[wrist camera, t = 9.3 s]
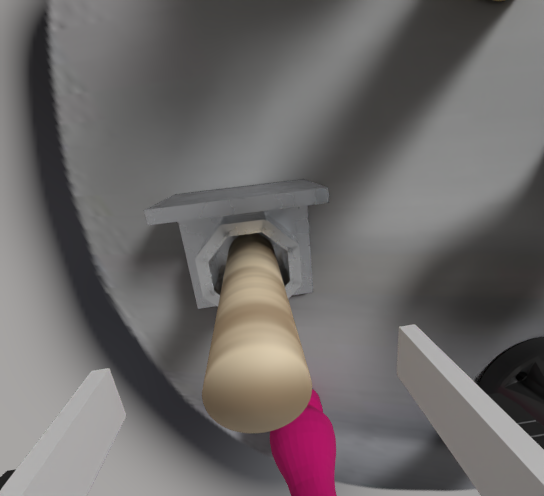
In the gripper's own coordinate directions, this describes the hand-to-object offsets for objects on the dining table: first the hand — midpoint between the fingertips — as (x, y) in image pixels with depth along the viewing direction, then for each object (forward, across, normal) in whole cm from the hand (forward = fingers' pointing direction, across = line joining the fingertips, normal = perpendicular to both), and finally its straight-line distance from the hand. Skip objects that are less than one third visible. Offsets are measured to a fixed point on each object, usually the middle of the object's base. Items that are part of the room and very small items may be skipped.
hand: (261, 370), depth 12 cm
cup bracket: (+16, 0, -1) cm, 16 cm away
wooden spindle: (+15, 0, -1) cm, 15 cm away
